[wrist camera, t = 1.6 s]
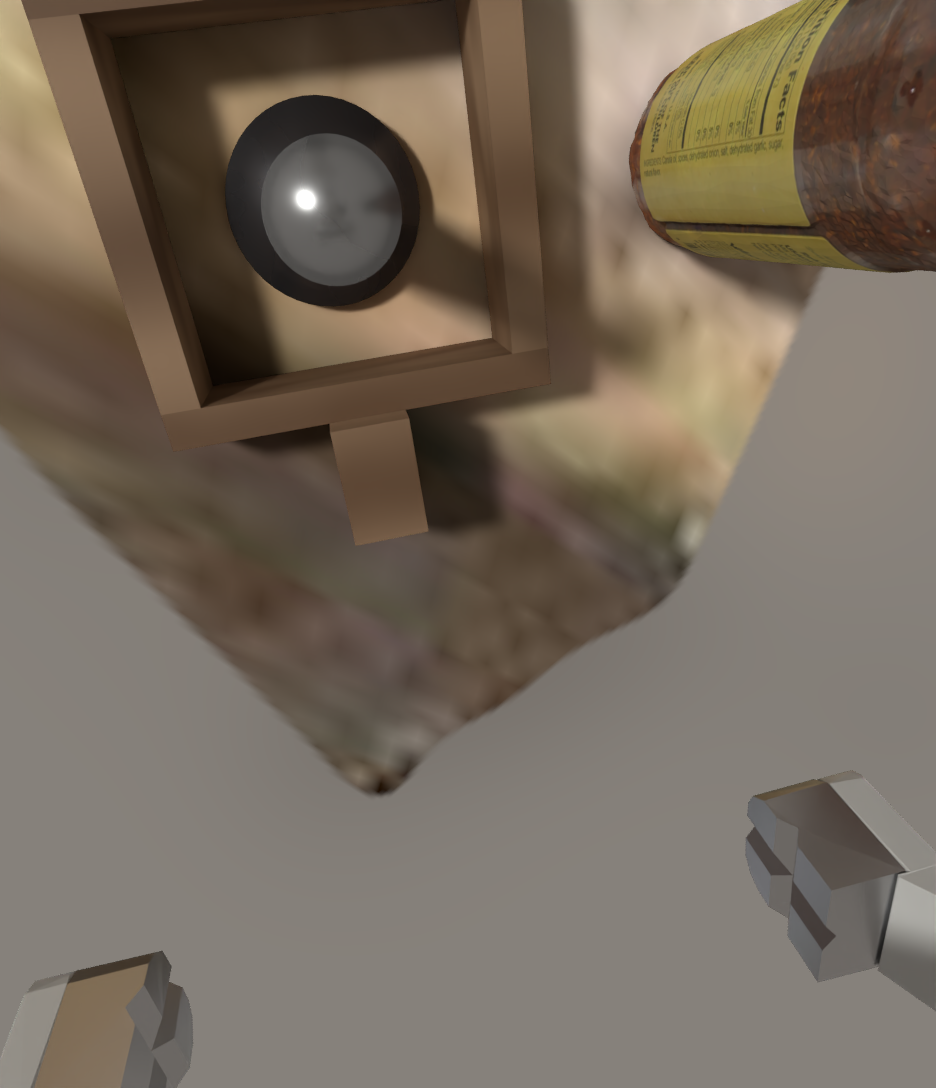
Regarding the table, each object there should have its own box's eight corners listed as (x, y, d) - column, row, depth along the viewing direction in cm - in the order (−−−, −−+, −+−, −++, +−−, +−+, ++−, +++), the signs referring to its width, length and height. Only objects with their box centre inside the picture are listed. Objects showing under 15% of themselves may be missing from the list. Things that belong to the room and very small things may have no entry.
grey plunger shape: (203, 111, 21) (89, 22, 11) (400, 85, 22) (479, -21, 11) (255, 317, 24) (208, 411, 13) (430, 289, 25) (516, 356, 14)
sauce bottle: (817, 162, 25) (1955, 80, 8) (681, 290, 26) (1411, 473, 9) (725, -12, 22) (2194, -769, 5) (576, 139, 23) (1348, -39, 6)
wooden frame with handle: (49, -9, 19) (-10, -56, 16) (489, -57, 21) (524, -110, 17) (220, 526, 27) (206, 575, 23) (536, 465, 28) (567, 503, 25)
